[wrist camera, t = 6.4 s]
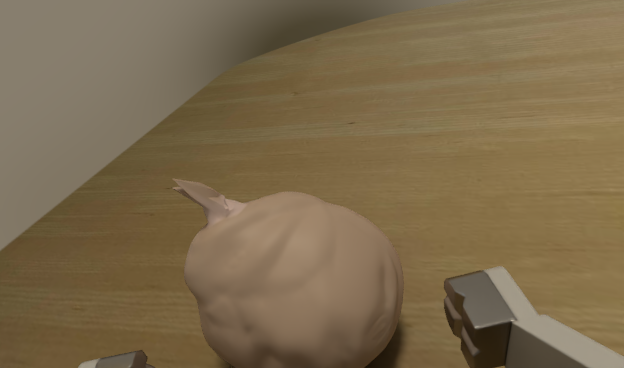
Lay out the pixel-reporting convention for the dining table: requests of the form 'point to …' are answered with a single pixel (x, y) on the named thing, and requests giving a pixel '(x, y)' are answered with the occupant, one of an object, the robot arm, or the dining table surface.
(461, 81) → the dining table surface
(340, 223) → the garlic bulb
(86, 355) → the dining table surface
